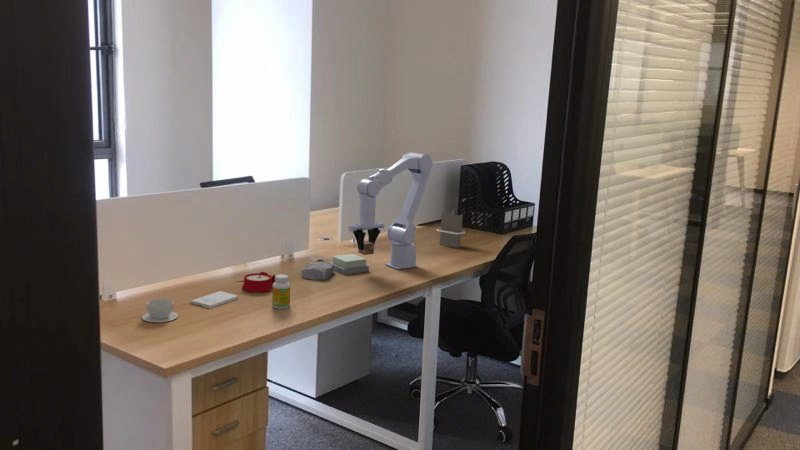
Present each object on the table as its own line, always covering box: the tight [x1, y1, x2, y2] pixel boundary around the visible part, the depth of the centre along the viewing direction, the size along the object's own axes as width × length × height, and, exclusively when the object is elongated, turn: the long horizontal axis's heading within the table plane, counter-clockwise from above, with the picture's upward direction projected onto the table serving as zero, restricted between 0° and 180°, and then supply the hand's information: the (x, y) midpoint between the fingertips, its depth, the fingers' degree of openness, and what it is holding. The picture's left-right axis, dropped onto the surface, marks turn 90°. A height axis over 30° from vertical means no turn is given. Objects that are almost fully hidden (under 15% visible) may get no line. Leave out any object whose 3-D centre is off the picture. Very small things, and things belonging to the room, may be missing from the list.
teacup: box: [141, 298, 179, 323], centre depth 209 cm, size 10×10×5 cm
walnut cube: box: [358, 240, 375, 256], centre depth 266 cm, size 4×4×4 cm
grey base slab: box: [327, 261, 370, 275], centre depth 271 cm, size 11×11×2 cm
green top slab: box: [332, 253, 367, 268], centre depth 271 cm, size 9×9×2 cm
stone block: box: [301, 262, 335, 281], centre depth 261 cm, size 12×5×10 cm
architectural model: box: [436, 212, 466, 249], centre depth 316 cm, size 20×25×15 cm
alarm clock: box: [236, 271, 277, 293], centre depth 243 cm, size 10×6×15 cm
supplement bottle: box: [271, 273, 291, 310], centre depth 224 cm, size 5×5×10 cm
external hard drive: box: [189, 290, 239, 309], centre depth 227 cm, size 2×8×12 cm
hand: (365, 248), depth 266 cm, fingers closed on walnut cube, 4 cm apart
